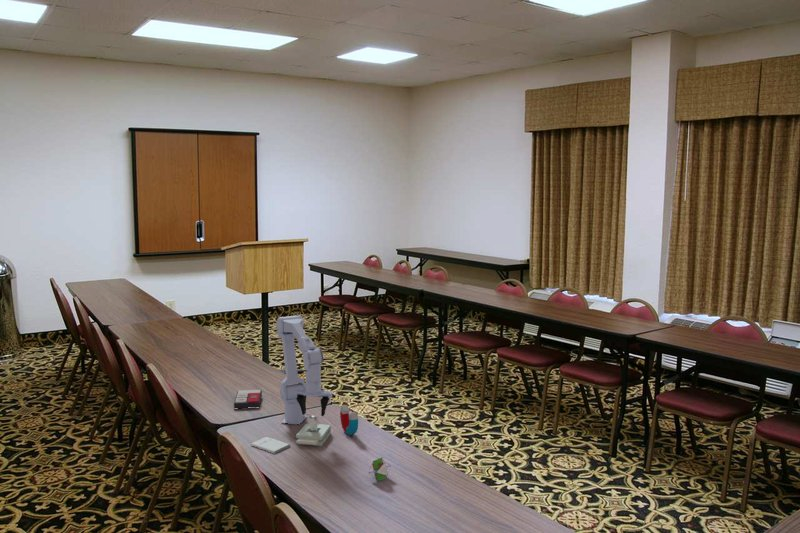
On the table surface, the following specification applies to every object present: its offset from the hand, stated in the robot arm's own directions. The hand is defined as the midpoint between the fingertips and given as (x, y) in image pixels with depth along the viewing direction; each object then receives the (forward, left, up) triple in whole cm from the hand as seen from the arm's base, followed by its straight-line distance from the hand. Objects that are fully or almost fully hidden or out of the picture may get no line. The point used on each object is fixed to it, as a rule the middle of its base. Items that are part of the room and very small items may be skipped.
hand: (313, 414), depth 240 cm
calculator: (-32, -41, -10) cm, 54 cm away
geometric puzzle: (+27, +32, -10) cm, 43 cm away
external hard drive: (+10, -14, -11) cm, 20 cm away
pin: (0, 0, -10) cm, 10 cm away
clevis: (0, 0, -10) cm, 10 cm away
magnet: (-8, +12, -10) cm, 18 cm away
